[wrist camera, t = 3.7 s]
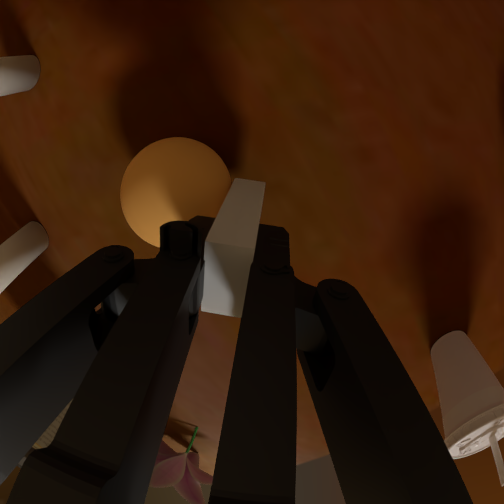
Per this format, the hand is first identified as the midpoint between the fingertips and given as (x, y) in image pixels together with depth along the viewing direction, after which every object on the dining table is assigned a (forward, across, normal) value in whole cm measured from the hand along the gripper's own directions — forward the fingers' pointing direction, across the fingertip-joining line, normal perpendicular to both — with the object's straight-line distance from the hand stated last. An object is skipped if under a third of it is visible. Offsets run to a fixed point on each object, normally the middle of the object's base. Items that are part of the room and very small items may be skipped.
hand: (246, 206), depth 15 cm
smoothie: (+2, +19, -10) cm, 21 cm away
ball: (0, -4, 0) cm, 4 cm away
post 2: (+2, -16, -6) cm, 17 cm away
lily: (+3, -4, -32) cm, 32 cm away
